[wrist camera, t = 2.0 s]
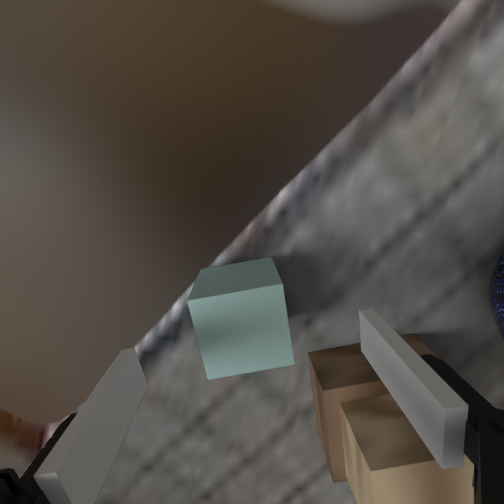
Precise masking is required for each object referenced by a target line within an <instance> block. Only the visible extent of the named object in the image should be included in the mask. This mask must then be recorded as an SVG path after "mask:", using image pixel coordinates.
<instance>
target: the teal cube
mask: <svg viewBox="0 0 504 504" xmlns="http://www.w3.org/2000/svg"><path fill="white" fill-rule="evenodd" d="M187 302H188V306H189V310H190V314H191V318H192V321H193V325H194V329H195V333H196V337H197V340H198V344H199V348H200V352H201V356H202V359H203V363H204V367H205V371H206V375H207V378H208V380H211V379H217V378H222V377H228V376H233V375H239V374H244V373H250V372H256V371H261V370H267V369H272V368H278V367H284V366H289V365H295V363H294V356H293V349H292V343H291V336H290V329H289V323H288V316H287V309H286V303H285V296H284V289H283V283H282V281H281V279H280V276H279V274H278V271H277V269H276V267H275V264H274V262H273V260H272V257H267V258H261V259H256V260H250V261H245V262H239V263H233V264H228V265H222V266H217V267H211V268H204V269H201V270H200V272H199V274H198V277H197V279H196V281H195V284H194V286H193V288H192V291H191V293H190V295H189V298H188V300H187Z"/></svg>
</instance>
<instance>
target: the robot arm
mask: <svg viewBox="0 0 504 504" xmlns="http://www.w3.org/2000/svg"><path fill="white" fill-rule="evenodd" d="M359 323H360V339H361V351H362V353H363V354H364V356H365V357H366V358H367V360H368V361H369V363H370V364H371V366H372V367H373V369H374V370H375V372H376V373H377V375H378V376H379V377H380V379H381V380H382V382H383V383H384V385H385V386H386V388H387V389H388V391H389V392H390V394H391V395H392V396H393V398H394V399H395V401H396V402H397V404H398V405H399V407H400V408H401V410H402V411H403V413H404V414H405V416H406V417H407V418H408V420H409V421H410V423H411V424H412V426H413V427H414V429H415V430H416V432H417V433H418V435H419V436H420V437H421V439H422V440H423V442H424V443H425V445H426V446H427V448H428V449H429V451H430V452H431V454H432V455H433V457H434V458H435V459H436V461H437V462H438V464H439V465H440V467H441V468H442V469H447V468H453V467H460V466H464V454H465V455H466V456H467V457H468V458H469V460H470V461H471V462H472V463H473V465H474V473H473V483H472V487H474V504H504V410H501V409H496V408H494V407H493V406H492V405H491V404H490V403H489V402H488V401H487V400H486V399H485V398H483V397H482V396H481V395H480V394H479V393H478V392H477V391H476V390H475V389H474V388H473V387H471V386H470V385H469V384H468V383H467V382H466V381H465V380H464V379H462V378H461V376H459V375H458V374H457V373H456V372H455V371H453V369H452V368H451V367H450V366H449V365H447V364H446V363H445V362H444V361H443V360H441V359H439V358H437V357H435V356H434V355H432V354H426V355H420V356H419V355H418V354H417V353H416V352H415V351H414V350H413V349H412V348H411V347H410V346H409V345H408V344H407V343H406V342H405V341H404V340H403V339H402V338H401V337H400V336H399V335H398V334H397V333H396V332H395V331H394V330H393V329H392V328H391V327H390V326H389V325H388V324H387V323H386V322H385V321H384V320H383V319H382V318H381V317H380V316H379V315H378V314H377V313H376V311H375V310H374V309H373V308H369V309H363V310H359ZM147 387H148V385H147V382H146V380H145V377H144V374H143V371H142V368H141V365H140V362H139V359H138V356H137V353H136V351H135V348H131V349H125V350H121V352H120V353H119V354H118V356H117V357H116V359H115V360H114V362H113V363H112V365H111V366H110V367H109V369H108V370H107V372H106V373H105V375H104V376H103V377H102V379H101V380H100V382H99V383H98V384H97V386H96V388H95V389H94V390H93V392H92V393H91V394H90V396H89V397H88V399H87V400H86V402H85V403H84V404H83V406H82V407H81V409H80V410H79V412H78V413H73V414H71V415H70V416H69V417H68V418H67V419H66V420H65V421H63V422H62V423H61V424H60V425H59V427H58V428H57V430H56V431H55V432H54V434H53V435H52V438H50V439H49V440H48V442H47V443H46V444H45V447H44V448H43V449H42V450H41V451H40V453H39V454H38V455H37V457H36V458H35V459H34V461H33V462H32V463H31V465H30V466H29V468H28V469H27V470H26V472H25V473H24V474H23V476H22V477H21V478H20V479H19V477H18V475H17V474H16V472H15V470H14V469H11V468H7V469H3V470H0V504H94V503H95V501H96V499H97V497H98V494H99V492H100V490H101V488H102V486H103V483H104V481H105V479H106V477H107V475H108V472H109V470H110V468H111V466H112V464H113V461H114V459H115V457H116V455H117V453H118V450H119V448H120V446H121V444H122V442H123V439H124V437H125V435H126V433H127V431H128V428H129V426H130V424H131V422H132V420H133V417H134V415H135V413H136V411H137V409H138V406H139V404H140V402H141V400H142V398H143V395H144V393H145V391H146V389H147Z"/></svg>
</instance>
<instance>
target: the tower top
mask: <svg viewBox="0 0 504 504" xmlns="http://www.w3.org/2000/svg"><path fill="white" fill-rule="evenodd" d="M339 405H340V415H341V426H342V437H343V448H344V459H345V469H346V477H347V480H348V482H349V485H350V488H351V491H352V493H353V496H354V499H355V502H356V504H474V487H472V483H473V473H474V465H473V463H472V462H471V461H470V460H469V458H468V457H467V456H466V455H465V454H464V466H460V467H453V468H447V469H442V468H441V467H440V465H439V464H438V462H437V461H436V459H435V458H434V457H433V455H432V454H431V452H430V451H429V449H428V448H427V446H426V445H425V443H424V442H423V440H422V439H421V437H420V436H419V435H418V433H417V432H416V430H415V429H414V427H413V426H412V424H411V423H410V421H409V420H408V418H407V417H406V416H405V414H404V413H403V411H402V410H401V408H400V407H399V405H398V404H397V402H396V401H395V399H394V398H393V396H392V395H391V394H386V395H380V396H375V397H369V398H363V399H358V400H352V401H346V402H341V403H339Z"/></svg>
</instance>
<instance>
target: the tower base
mask: <svg viewBox="0 0 504 504" xmlns="http://www.w3.org/2000/svg"><path fill="white" fill-rule="evenodd" d="M400 337H401V338H402V339H403V340H404V341H405V342H406V343H407V344H408V345H409V346H410V347H411V348H412V349H413V350H414V351H415V352H416V353H417V354H418V355H419V356H420V355H426V354H432V355H434V356H435V357H437V358H439V357H438V356H437V355H435V354H434V353H433V352H432V351H431V350H430V349H429V348H428V347H426V346H425V345H424V344H423V343H422V342H421V341H420V340H419V339H417V338H416V337H415V336H414V335H413V334H408V335H402V336H400ZM439 359H440V358H439ZM308 360H309V368H310V375H311V383H312V390H313V398H314V405H315V413H316V420H317V428H318V434H319V437H320V440H321V444H322V447H323V450H324V453H325V456H326V460H327V463H328V466H329V469H330V472H331V476H332V479H333V482H334V483H336V482H341V481H347V477H346V469H345V459H344V448H343V437H342V426H341V415H340V405H339V403H341V402H346V401H352V400H358V399H363V398H369V397H375V396H380V395H386V394H390V392H389V391H388V389H387V388H386V386H385V385H384V383H383V382H382V380H381V379H380V377H379V376H378V375H377V373H376V372H375V370H374V369H373V367H372V366H371V364H370V363H369V361H368V360H367V358H366V357H365V356H364V354H363V353H362V351H361V343H358V344H352V345H347V346H341V347H336V348H330V349H325V350H319V351H313V352H308Z"/></svg>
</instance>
